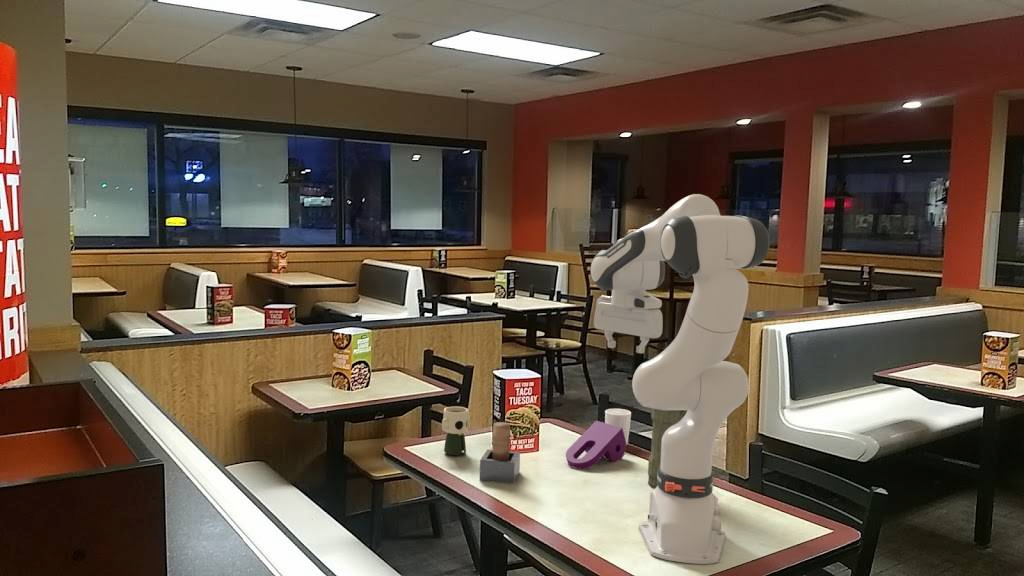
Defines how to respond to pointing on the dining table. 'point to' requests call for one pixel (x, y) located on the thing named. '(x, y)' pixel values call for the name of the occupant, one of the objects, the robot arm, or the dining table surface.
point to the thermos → (660, 438)
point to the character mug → (455, 429)
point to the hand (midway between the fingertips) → (625, 350)
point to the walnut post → (501, 441)
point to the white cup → (619, 420)
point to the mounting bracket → (597, 445)
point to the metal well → (499, 468)
